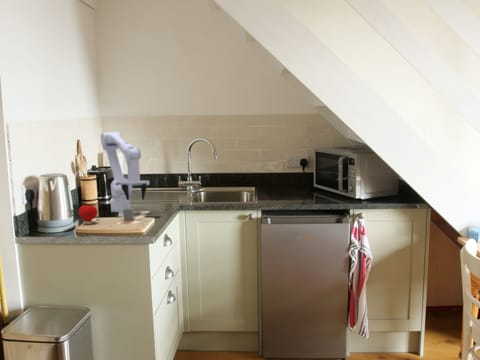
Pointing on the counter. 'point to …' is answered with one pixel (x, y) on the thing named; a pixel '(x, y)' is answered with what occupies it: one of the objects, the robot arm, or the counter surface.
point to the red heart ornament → (88, 213)
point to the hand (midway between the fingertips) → (135, 199)
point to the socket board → (137, 218)
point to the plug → (128, 214)
